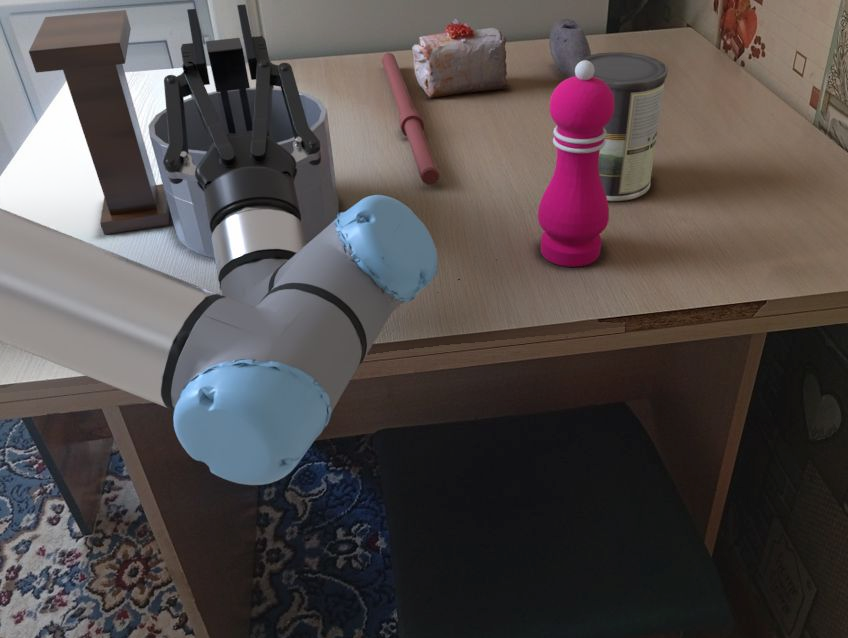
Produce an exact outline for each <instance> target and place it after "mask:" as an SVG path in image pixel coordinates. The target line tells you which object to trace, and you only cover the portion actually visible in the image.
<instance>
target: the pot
mask: <svg viewBox="0 0 848 638" xmlns="http://www.w3.org/2000/svg"><path fill="white" fill-rule="evenodd" d="M246 91H247V97H248V102H249V107H250V113H251V118H252V123H253V119H254V109H255V91H256V86H254V87H250V88H247V89H246ZM298 92H299V95H300V99H301V102H302V106H303V109H304V113H305V116H306V120H307V123H308V127H309V128H310V129H311V131H312V132H313V133H314V134H315V136H316V137H317V138H318V140H319V141H320V149H321V162H320V164H318V165H311V164H310V163H307V164H305V165H303V166H301V167H299V168H297V174H296V177H295V179H294V185H295V189H296V194H297V199H298V204H299V209H300V214H301V223H302V225H303V228H304V232H305V237H306V242H307V244H308V243H309V242H310V241H311V240H312V239H314V238H315V237H316V236H317V235H318V234H319V233H321V232H322V231H323V230H324V229H325V228H326V227H327V226H329V225H330V224H331V223H332V222H333V221H334V220H335V219H336V218H338V217H337V215H338V214H339V213H340V212H339V207H340V203H339V195H338V188H337V187H338V186H337V180H336V179H337V178H336V173H335V172H336V171H335V164H334V156H333V147H332V140H331V132H330V123H329V116H328V110H327V107H325V105H324V103H323V101H322V100H320V99H319V98H316V97H314V96H313V95H311V94H309V93H306V92H303V91H299V90H298ZM207 93H208V95H209V97H210V100H211V102H212V104H213V107H214V109H215V111H216V113H217V116H218V118H219V120H220V123H222V126H223V128H224V130H225V132H226V134H228V133H229V131H228V127H227V122H226V117H225V113H224V108H223V103H222V98H221V94H220V92H216V90H215V91H211V92H207ZM228 96H229V101H230V106H231V111H232V116H233V121H234V125H235V130H236V134H241V133H244V132H247V130H246V125H245V120H244V115H243V110H242V104H241V99H240V94H239V90H231V91H228ZM184 109H185V120H186V130H187V141H188V152H189V154H190V155H191V156H192V159H193V162H194V165H195V166H198V164H199V163H200V162H201V160H202V159H203V157H204V156H205V154H206V153H207V151H208V150H209V148H210V147H211V145H212V144H211V141H210V139H209V137H208V134H207V132H206V130H205V127H204V125H203V123H202V120H201V118H200V116H199V113H198V111H197V109H196V106H195V104H194V102H193V99H192V97H191V96H190V97H189V98H186V99H184ZM148 133H149V139H150V143H151V146H152V150H153V154H154V157H155V160H156V163H157V168H158V172H159V175H160V178H161V179H160V180H161V184H163V187H164V190H165V194H166V198H167V201H168V205H169V213H170V217H171V219H172V223H173V226H174V230H175V234H176V236H177V238H178V240H179V242H180V243H181V244H182V245H183V246H185V248H187V249H188V250H190V251H191V252H193V253H196V254H198V255H201V256H204V257H208V258H212V259H215V257H214V250H213V244H212V232H211V230H210V225H209V218H208V212H207V206H206V199H205V193H204V191H203V190H202V189H201V188H200V187H199V185H198V183H197V182H194V181H189V180H184V179H183V181H182V182H181V183H179V184H173V183H171V182H170V180H169V177H168V175H167V172H166V170H165V167H164V164H163V159H164V157H165V154H166V151H167V148H168V146H169V137H168V125H167V113H166V108H164V109H163V110H162V111H160V112H158V113H157V114H155V116H154V117H153V119H152V120H151V121H150V122H149V124H148ZM271 139H272V140H274V141H275V142H276V143H277V144H279V145H280V146H281V147H282V148H284V149H285V150H286V151H287V152H289V153H290V154H292V153H293V142H294V141H295V138H294V134H293V131H292V127H291V123H290V120H289V116H288V112H287V109H286V105H285V101H284V98H283V94H282V90H281V87H274V89H273V97H272V120H271Z"/></svg>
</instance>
